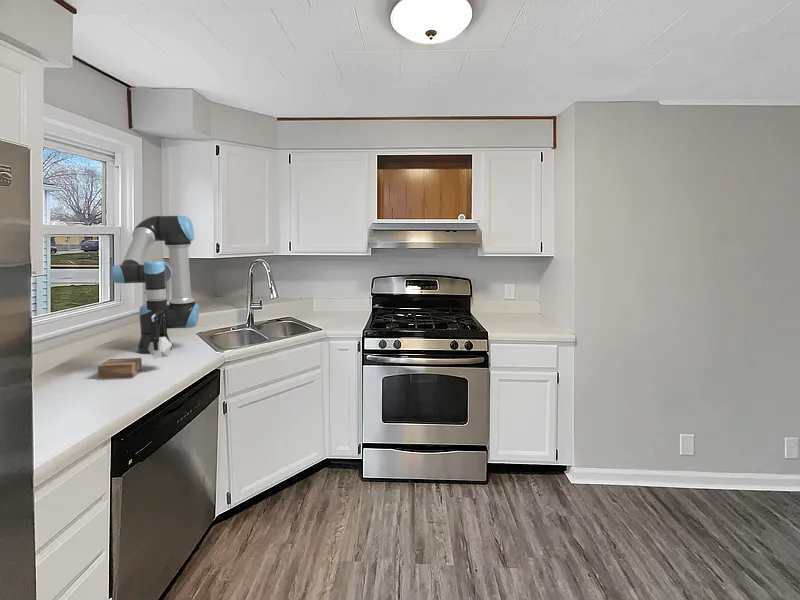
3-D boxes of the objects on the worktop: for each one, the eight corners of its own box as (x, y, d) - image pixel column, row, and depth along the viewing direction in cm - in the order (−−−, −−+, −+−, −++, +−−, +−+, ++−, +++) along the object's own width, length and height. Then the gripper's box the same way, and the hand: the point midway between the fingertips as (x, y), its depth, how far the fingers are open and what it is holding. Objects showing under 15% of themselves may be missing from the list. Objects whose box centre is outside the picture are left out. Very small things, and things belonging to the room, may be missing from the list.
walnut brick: (110, 371, 220) (109, 359, 219) (142, 370, 222) (141, 357, 221) (98, 378, 208) (97, 366, 208) (132, 377, 210) (131, 364, 209)
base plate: (111, 373, 222) (110, 370, 222) (144, 371, 224) (144, 368, 224) (95, 383, 206) (95, 380, 206) (132, 381, 208) (131, 378, 208)
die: (170, 354, 228) (154, 336, 226) (180, 346, 223) (163, 328, 221) (156, 365, 221) (139, 347, 219) (165, 358, 216) (148, 340, 214)
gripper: (153, 296, 228) (157, 350, 231) (138, 303, 208) (142, 361, 211) (172, 296, 229) (176, 349, 232) (159, 302, 209) (163, 361, 212)
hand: (160, 355), depth 222 cm, fingers closed on die, 8 cm apart
